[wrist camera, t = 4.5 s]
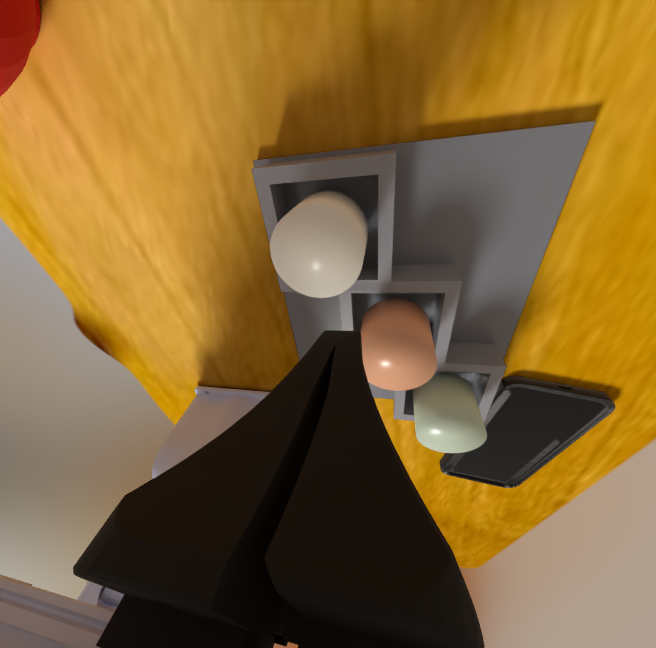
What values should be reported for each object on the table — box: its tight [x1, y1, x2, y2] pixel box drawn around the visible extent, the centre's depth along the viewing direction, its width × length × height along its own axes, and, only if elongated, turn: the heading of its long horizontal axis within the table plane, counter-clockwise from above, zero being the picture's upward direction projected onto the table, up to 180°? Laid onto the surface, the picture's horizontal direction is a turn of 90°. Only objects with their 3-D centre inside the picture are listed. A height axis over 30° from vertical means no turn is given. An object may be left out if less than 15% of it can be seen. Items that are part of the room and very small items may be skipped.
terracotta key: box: [360, 298, 437, 391], centre depth 15 cm, size 4×4×3 cm
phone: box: [440, 376, 615, 488], centre depth 24 cm, size 8×1×15 cm
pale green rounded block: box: [412, 373, 487, 453], centre depth 17 cm, size 4×4×3 cm
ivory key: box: [270, 190, 368, 298], centre depth 12 cm, size 4×4×3 cm
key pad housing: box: [252, 121, 596, 422], centre depth 17 cm, size 15×18×3 cm
